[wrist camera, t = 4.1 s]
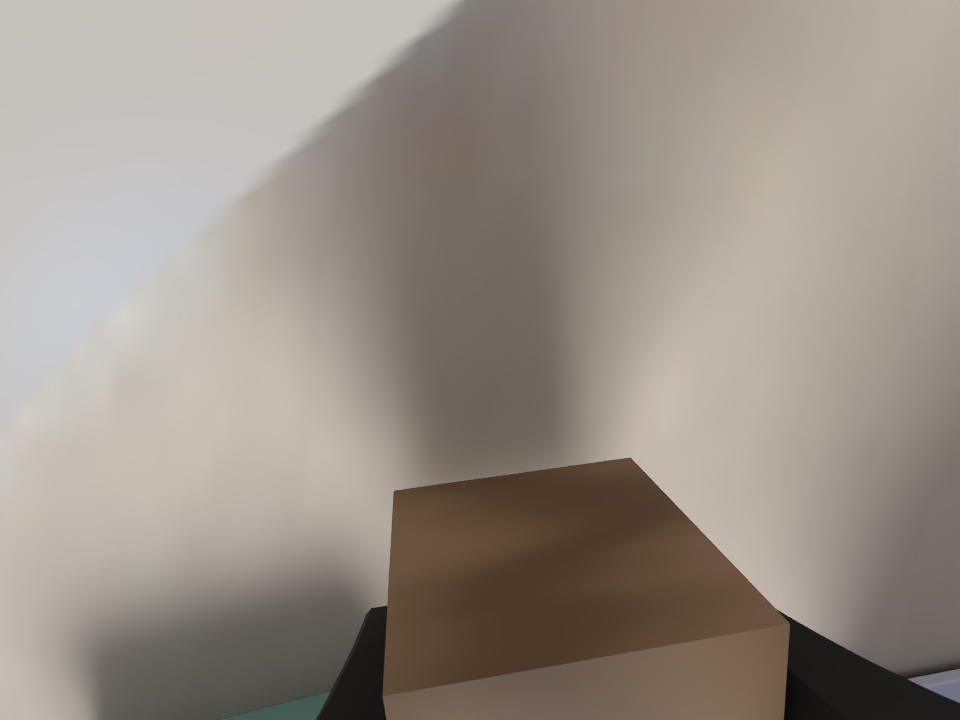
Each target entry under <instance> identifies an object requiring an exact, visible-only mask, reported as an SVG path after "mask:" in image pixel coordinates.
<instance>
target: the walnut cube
mask: <svg viewBox="0 0 960 720" xmlns="http://www.w3.org/2000/svg"><path fill="white" fill-rule="evenodd" d="M789 632H790V623H789V622H788V621H787V620H786V619H785V618H784V617H783V616H782V615H781V614H780V613H779V612H778V611H777V610H776V609H775V608H774V607H773V606H772V605H771V604H770V602H769V601H768V600H767V599H766V598H765V597H764V596H763V595H762V594H761V593H760V592H759V591H758V590H757V589H756V588H755V587H754V586H753V585H752V584H751V583H750V582H749V581H748V580H747V579H746V577H745V576H744V575H743V574H742V573H741V572H740V571H739V570H738V569H737V568H736V567H735V566H734V565H733V564H732V563H731V562H730V561H729V560H728V559H727V558H726V557H725V556H724V555H723V554H722V552H721V551H720V550H719V549H718V548H717V547H716V546H715V545H714V544H713V543H712V542H711V541H710V540H709V539H708V538H707V537H706V536H705V535H704V534H703V533H702V532H701V531H700V530H699V529H698V527H697V526H696V525H695V524H694V523H693V522H692V521H691V520H690V519H689V518H688V517H687V516H686V515H685V514H684V513H683V512H682V511H681V510H680V509H679V508H678V507H677V506H676V505H675V504H674V502H673V501H672V500H671V499H670V498H669V497H668V496H667V495H666V494H665V493H664V492H663V491H662V490H661V489H660V488H659V487H658V486H657V485H656V484H655V483H654V482H653V481H652V480H651V478H650V477H649V476H648V475H647V474H646V473H645V472H644V471H643V470H642V469H641V468H640V467H639V466H638V465H637V464H636V463H635V462H634V461H633V460H632V459H631V458H625V459H618V460H611V461H603V462H596V463H589V464H582V465H575V466H568V467H561V468H553V469H546V470H539V471H532V472H525V473H518V474H510V475H503V476H496V477H489V478H482V479H475V480H468V481H460V482H453V483H446V484H439V485H432V486H425V487H418V488H410V489H403V490H396V491H394V496H393V514H392V533H391V551H390V569H389V587H388V606H387V624H386V642H385V660H384V679H383V702H384V708H385V715H386V720H784V709H785V694H786V678H787V663H788V647H789Z"/></svg>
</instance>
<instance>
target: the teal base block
mask: <svg viewBox="0 0 960 720" xmlns="http://www.w3.org/2000/svg"><path fill="white" fill-rule="evenodd" d="M330 692H331V691H329V692H325V693H321V694H317V695H313V696H309V697H306V698H302V699H298V700H294V701H290V702H286V703H282V704H278V705H274V706H270V707H266V708H262V709H258V710H255V711H251V712H247V713H243V714H239V715H235V716H231V717H227V718H223V719H219V720H315V719H316V718H317V716H318V714H319V712H320V711H321V709H322V707H323V705H324V703H325V702H326V700H327V698H328V696H329V694H330Z"/></svg>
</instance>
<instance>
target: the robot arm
mask: <svg viewBox="0 0 960 720" xmlns="http://www.w3.org/2000/svg"><path fill="white" fill-rule="evenodd" d="M776 610H777V609H776ZM777 611H778V610H777ZM778 612H779V613H780V614H781V615H782V616H783V617H784V618H785V619H786V620H787V621H788V622H789V623H790V632H789V647H788V663H787V678H786V694H785V709H784V720H960V669H956V670H950V671H945V672H940V673H935V674H930V675H925V676H920V677H915V678H910V679H906V678H903V677H901V676H899V675H897V674H895V673H893V672H891V671H888V670H886V669H884V668H882V667H880V666H878V665H876V664H874V663H872V662H870V661H868V660H866V659H864V658H862V657H860V656H859V655H857V654H855V653H853V652H851V651H849V650H847V649H846V648H844V647H842V646H840V645H838V644H836V643H834V642H833V641H831V640H829V639H827V638H825V637H823V636H821V635H820V634H818V633H816V632H814V631H813V630H811V629H809V628H807V627H806V626H804V625H802V624H800V623H799V622H797V621H795V620H793V619H792V618H790V617H788V616H787V615H785V614H783V613H782V612H780V611H778ZM386 624H387V606H383V607H377V608H371V610H370V611H369V612H368V613H367V614H366V616H365V619H364V622H363V624H362V627H361V629H360V632H359V634H358V636H357V639H356V641H355V643H354V645H353V648H352V650H351V652H350V654H349V656H348V658H347V660H346V662H345V665H344V667H343V669H342V671H341V673H340V675H339V676H338V678H337V680H336V682H335V684H334V686H333V688H332V690H331V692H330V694H329V696H328V698H327V700H326V702H325V703H324V705H323V707H322V709H321V711H320V712H319V714H318V716H317V718H316V719H315V720H386V715H385V708H384V702H383V679H384V660H385V642H386Z"/></svg>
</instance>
